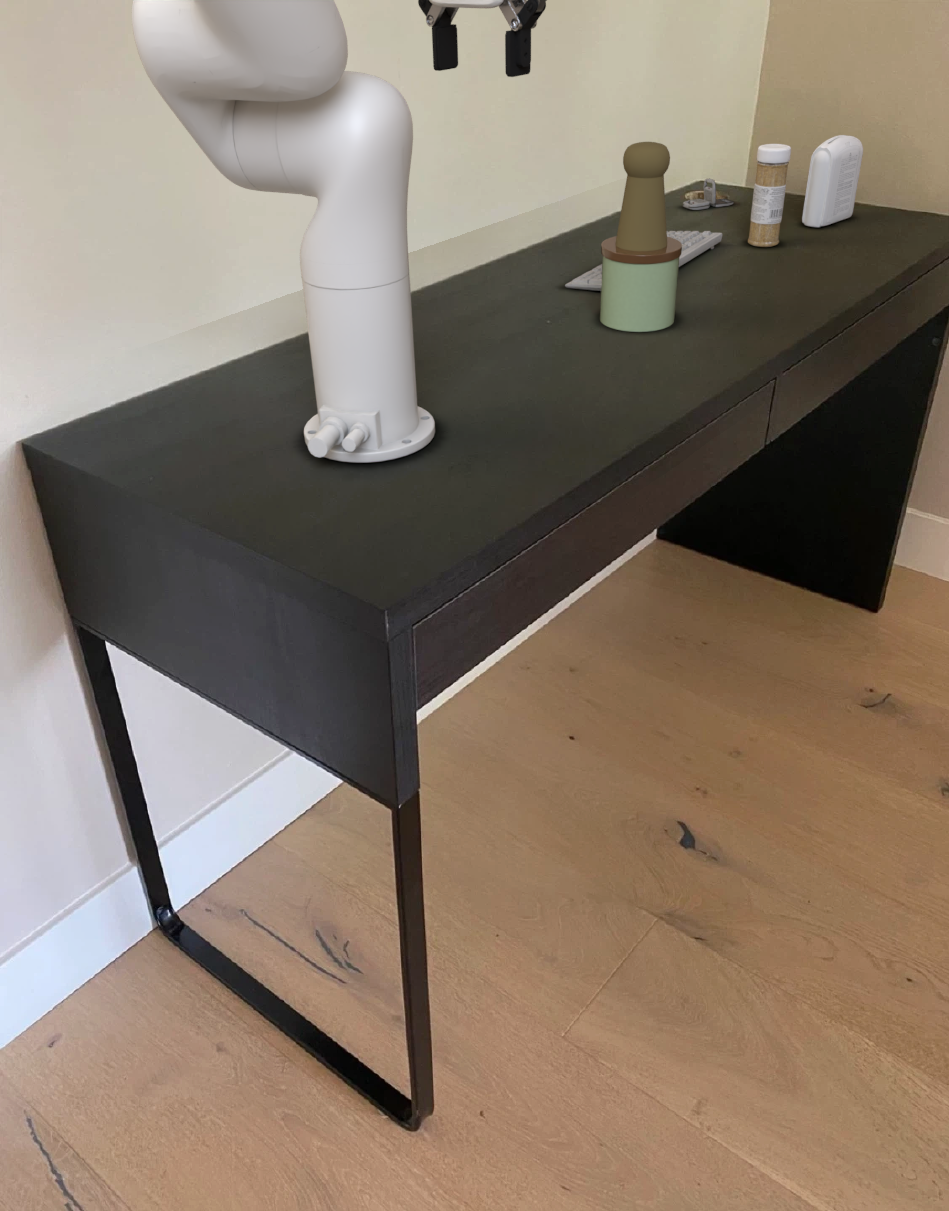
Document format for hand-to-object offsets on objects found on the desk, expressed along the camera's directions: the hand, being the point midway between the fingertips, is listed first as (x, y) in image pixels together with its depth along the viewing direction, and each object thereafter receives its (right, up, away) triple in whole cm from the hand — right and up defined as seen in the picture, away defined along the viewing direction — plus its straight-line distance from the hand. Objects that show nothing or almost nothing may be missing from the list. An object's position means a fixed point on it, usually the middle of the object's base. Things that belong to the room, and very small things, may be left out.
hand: (481, 71), depth 106 cm
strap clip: (+38, +12, +67) cm, 78 cm away
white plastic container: (+55, +6, +57) cm, 79 cm away
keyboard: (+24, -7, +39) cm, 46 cm away
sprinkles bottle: (+42, -1, +47) cm, 63 cm away
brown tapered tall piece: (+19, -12, +16) cm, 27 cm away
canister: (+19, -20, +21) cm, 34 cm away
